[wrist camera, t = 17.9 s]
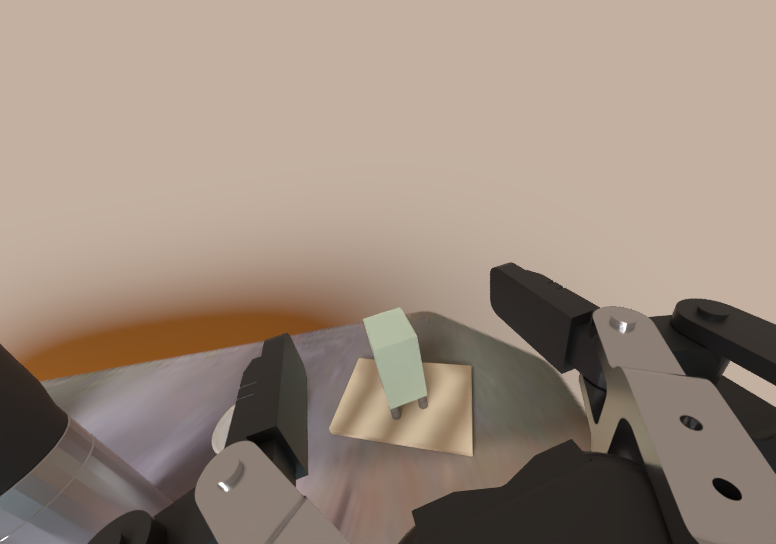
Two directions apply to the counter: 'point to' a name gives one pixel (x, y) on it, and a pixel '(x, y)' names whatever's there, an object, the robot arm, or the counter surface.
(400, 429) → the peg board
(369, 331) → the green block
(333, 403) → the counter surface
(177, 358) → the counter surface
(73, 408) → the counter surface
